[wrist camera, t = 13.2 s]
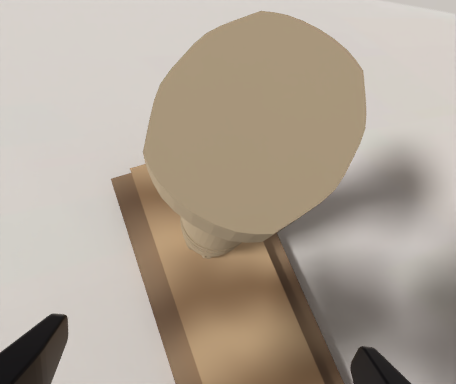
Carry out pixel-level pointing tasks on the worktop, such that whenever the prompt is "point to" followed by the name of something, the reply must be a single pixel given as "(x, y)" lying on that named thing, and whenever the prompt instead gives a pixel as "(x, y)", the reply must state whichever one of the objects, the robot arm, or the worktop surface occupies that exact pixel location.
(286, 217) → the handle
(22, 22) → the worktop surface
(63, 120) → the worktop surface
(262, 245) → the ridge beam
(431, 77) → the worktop surface
